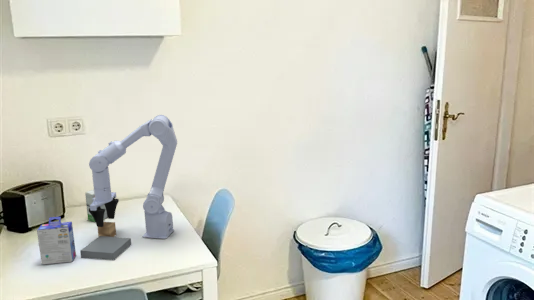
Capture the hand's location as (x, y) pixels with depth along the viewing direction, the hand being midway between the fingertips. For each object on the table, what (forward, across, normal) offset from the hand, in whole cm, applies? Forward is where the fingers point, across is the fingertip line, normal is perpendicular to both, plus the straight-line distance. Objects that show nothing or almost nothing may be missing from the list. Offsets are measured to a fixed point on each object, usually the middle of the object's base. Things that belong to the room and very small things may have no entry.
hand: (105, 222), depth 170 cm
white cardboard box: (+6, -17, -13) cm, 22 cm away
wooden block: (+6, 0, 0) cm, 6 cm away
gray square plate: (+6, +11, +6) cm, 14 cm away
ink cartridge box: (+6, +20, -6) cm, 21 cm away
